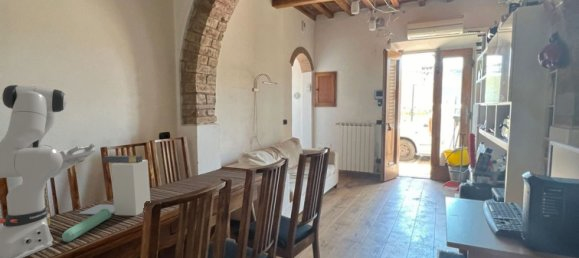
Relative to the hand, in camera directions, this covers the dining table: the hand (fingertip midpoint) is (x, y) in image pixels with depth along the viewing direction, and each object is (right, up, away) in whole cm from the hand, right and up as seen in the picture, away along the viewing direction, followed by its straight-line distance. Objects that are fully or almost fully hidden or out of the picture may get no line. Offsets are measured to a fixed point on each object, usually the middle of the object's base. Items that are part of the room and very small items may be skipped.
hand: (86, 146), depth 157 cm
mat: (+8, -34, +2) cm, 35 cm away
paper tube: (-8, -36, -19) cm, 42 cm away
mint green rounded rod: (+17, -36, -24) cm, 47 cm away
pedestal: (+25, -34, -1) cm, 42 cm away
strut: (+20, -8, -2) cm, 22 cm away
